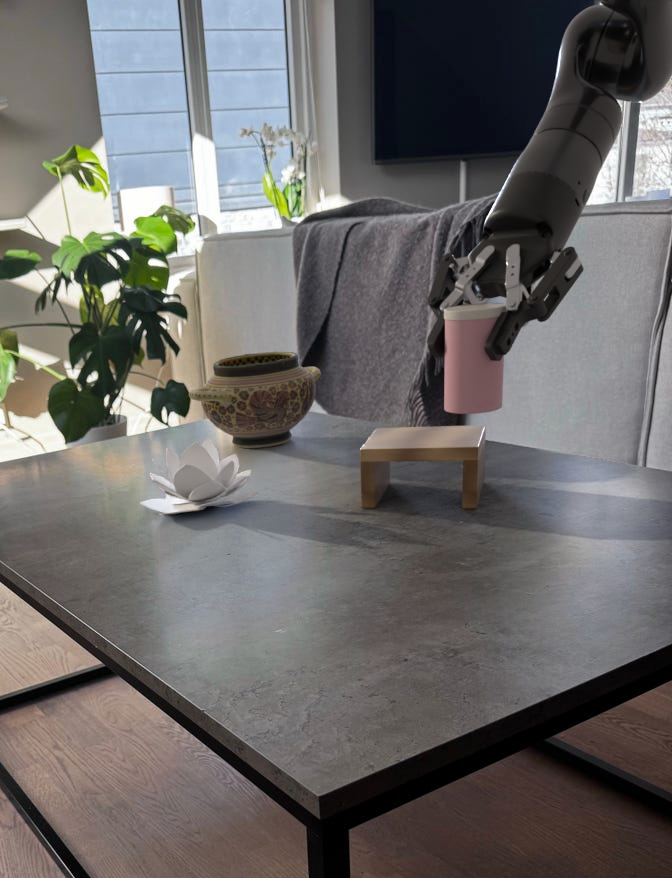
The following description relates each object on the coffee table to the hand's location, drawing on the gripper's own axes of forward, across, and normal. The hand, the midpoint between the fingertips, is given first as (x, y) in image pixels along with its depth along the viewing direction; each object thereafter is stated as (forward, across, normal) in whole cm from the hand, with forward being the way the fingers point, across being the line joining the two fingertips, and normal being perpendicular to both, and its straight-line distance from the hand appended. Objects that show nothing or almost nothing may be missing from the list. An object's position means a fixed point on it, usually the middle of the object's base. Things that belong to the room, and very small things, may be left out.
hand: (462, 353), depth 83 cm
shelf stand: (+3, -15, +24) cm, 29 cm away
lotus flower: (+16, -36, +12) cm, 41 cm away
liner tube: (+2, 0, +5) cm, 5 cm away
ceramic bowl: (-5, -55, +32) cm, 64 cm away
